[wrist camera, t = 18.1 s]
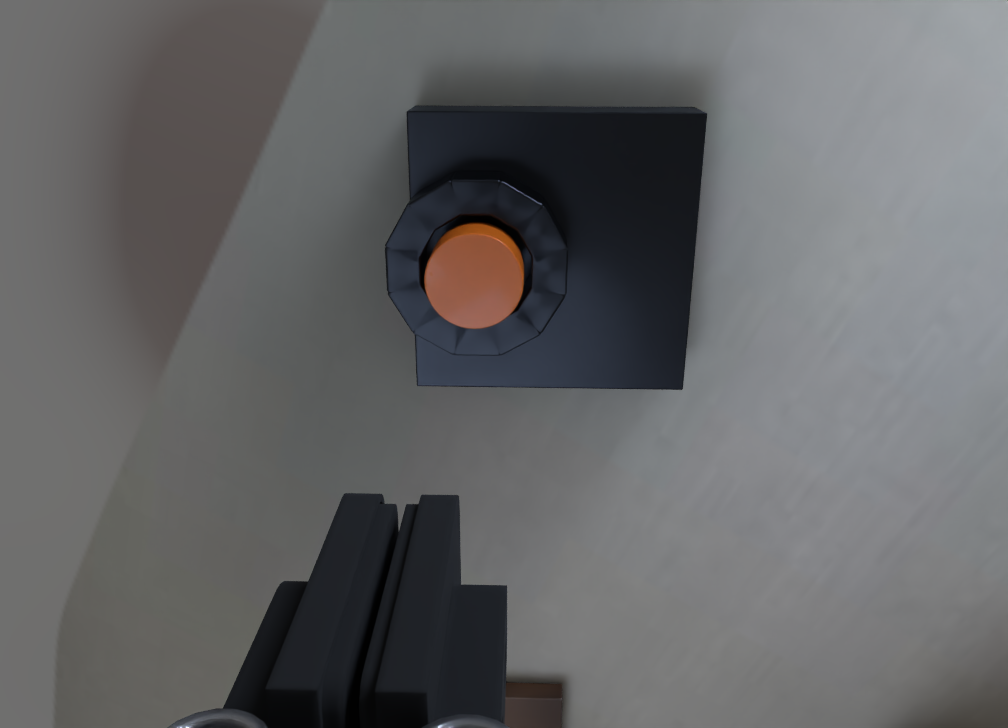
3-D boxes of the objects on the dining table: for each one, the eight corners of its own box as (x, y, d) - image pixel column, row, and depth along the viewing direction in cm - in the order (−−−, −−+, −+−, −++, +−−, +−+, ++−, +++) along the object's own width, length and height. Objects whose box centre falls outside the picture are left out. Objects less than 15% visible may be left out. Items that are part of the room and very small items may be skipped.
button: (431, 312, 29) (425, 328, 28) (428, 220, 28) (422, 232, 26) (523, 313, 29) (523, 330, 28) (524, 221, 28) (524, 233, 26)
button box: (407, 364, 34) (392, 405, 30) (396, 105, 30) (378, 115, 27) (673, 368, 34) (691, 410, 30) (695, 107, 30) (719, 117, 26)
